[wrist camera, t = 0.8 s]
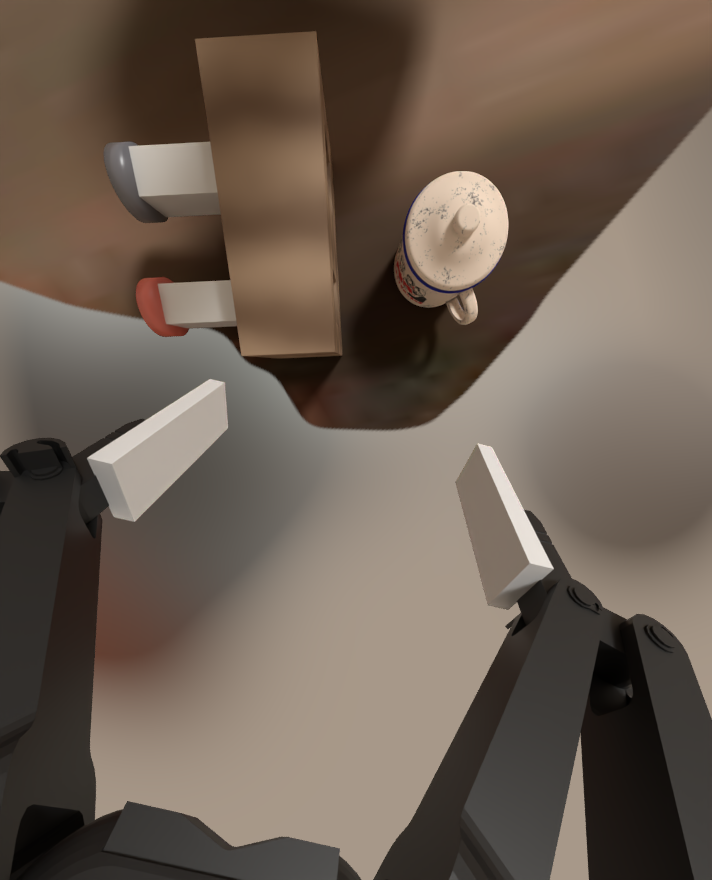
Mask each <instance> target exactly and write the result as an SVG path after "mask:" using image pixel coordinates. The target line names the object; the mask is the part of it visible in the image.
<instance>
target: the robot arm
mask: <svg viewBox="0 0 712 880" xmlns="http://www.w3.org/2000/svg"><path fill="white" fill-rule="evenodd" d="M227 429H228V418H227V403H226V389H225V382H221V381H217V380H213V379H209V380H208V381H206V382H204V383H203V384H201V385H200V386H198V387H197V388H195V389H194V390H192V391H190V392H189V393H187V394H186V395H184V396H183V397H181V398H180V399H178V400H176V401H175V402H173V403H172V404H170V405H169V406H167V407H166V408H164V409H163V410H161V411H159V412H158V413H156V414H155V415H153V416H152V417H150V418H148V419H147V420H144V419H140V420H137V421H134V422H131V423H128V424H126V425H124V426H122V427H121V428H119V429H117V430H116V431H115V432H113V433H111V434H109V435H107V436H106V437H105V439H104V438H103V439H101V440H99V441H98V442H96V443H94V444H93V445H91V446H90V447H88V448H86V449H85V450H83V451H81V452H80V453H78V454H76V455H75V456H73V457H71V454H70V452H69V450H68V448H67V446H66V444H65V442H63V441H61V440H59V439H54V438H38V439H32V440H27V441H24V442H21V443H18V444H15V445H13V446H11V447H9V448H8V449H6V450H4V451H3V453H2V454H1V455H0V457H1V459H2V460H3V461H4V463H5V464H6V466H7V467H8V469H9V470H10V471H0V880H361V879H360V877H359V876H358V874H357V873H356V872H355V871H354V870H353V869H352V867H351V866H350V865H349V864H348V863H347V862H346V861H345V860H344V859H342V858H341V857H340V856H339V852H340V849H339V848H335V847H330V846H326V845H321V844H316V843H312V842H308V841H303V840H299V839H294V838H290V837H278V838H274V839H269V840H265V841H261V842H257V843H252V844H248V845H244V846H239V847H233V846H231V845H229V844H228V843H227V842H226V841H224V840H223V839H222V838H221V837H220V836H218V835H217V834H216V833H215V832H213V831H212V830H211V829H210V828H208V826H206V825H205V824H204V823H203V822H201V821H200V820H199V819H198V818H196V817H192V816H189V815H185V814H182V813H178V812H174V811H169V810H164V809H160V808H156V807H151V806H147V805H142V804H138V803H133V802H129V801H127V803H126V805H125V807H124V809H123V810H119V811H115V812H113V813H110V814H107V815H104V816H102V817H100V818H98V819H96V820H95V801H96V778H95V771H94V766H93V762H92V759H91V754H90V729H91V711H92V693H93V676H94V658H95V639H96V622H97V604H98V586H99V568H100V551H101V532H102V518H101V515H100V513H101V512H102V511H103V510H104V509H106V508H107V507H108V506H109V508H110V510H111V512H112V515H113V517H116V518H120V519H124V520H128V521H133V522H135V521H136V520H137V519H138V518H139V517H140V516H141V515H142V514H143V513H144V512H145V511H146V510H147V509H148V508H149V507H150V506H151V505H152V504H153V503H154V502H155V501H156V500H157V499H158V498H159V497H160V496H161V495H162V494H163V493H164V492H165V491H166V490H167V489H168V488H169V487H170V486H171V485H172V484H173V483H174V482H175V481H176V480H177V479H178V478H179V477H180V476H181V475H182V474H183V473H184V472H185V471H186V470H187V469H188V468H189V467H190V466H191V465H192V464H193V463H194V462H195V461H196V460H197V459H198V458H199V457H200V456H201V455H202V454H203V453H204V452H205V451H206V450H207V449H208V448H209V447H210V446H211V445H212V444H213V443H214V442H215V441H216V440H217V439H218V438H219V437H220V436H221V435H222V434H223V432H225V431H226V430H227ZM456 486H457V490H458V494H459V498H460V502H461V505H462V509H463V513H464V517H465V520H466V524H467V528H468V532H469V536H470V539H471V543H472V547H473V551H474V554H475V558H476V562H477V566H478V569H479V573H480V577H481V581H482V585H483V588H484V592H485V596H486V600H487V604H488V605H489V606H494V607H498V608H503V609H507V610H508V609H510V608H511V607H512V606H513V605H514V604H515V603H516V602H518V605H519V608H520V611H521V613H520V614H519V615H518V616H517V617H515V618H514V619H513V620H512V621H511V622H510V623H508V624H507V625H506V628H507V629H509V628H510V627H511V628H510V630H509V632H508V634H507V636H506V638H505V640H504V642H503V644H502V646H501V648H500V649H499V651H498V654H497V655H496V657H495V659H494V661H493V663H492V665H491V667H490V669H489V671H488V673H487V675H486V677H485V679H484V681H483V683H482V684H481V686H480V689H479V690H478V692H477V694H476V696H475V698H474V700H473V702H472V704H471V706H470V708H469V710H468V712H467V714H466V716H465V718H464V720H463V722H462V723H461V725H460V727H459V729H458V731H457V733H456V735H455V737H454V739H453V741H452V743H451V745H450V747H449V749H448V751H447V753H446V755H445V757H444V759H443V760H442V762H441V764H440V766H439V768H438V770H437V772H436V774H435V776H434V778H433V780H432V782H431V784H430V786H429V788H428V790H427V791H426V794H425V795H424V797H423V799H422V801H421V803H420V805H419V807H418V809H417V811H416V813H415V815H414V816H413V818H412V820H411V822H410V823H409V825H408V826H407V827H406V828H405V830H404V831H403V832H402V833H401V834H400V835H399V837H398V838H397V839H396V841H395V842H394V843H393V845H392V846H391V848H390V850H389V852H388V854H387V855H386V857H385V859H384V860H383V862H382V864H381V866H380V868H379V870H378V872H377V874H376V876H375V878H374V879H373V880H550V875H551V870H552V865H553V861H554V856H555V851H556V846H557V842H558V837H559V832H560V827H561V823H562V818H563V813H564V808H565V804H566V799H567V794H568V789H569V784H570V780H571V775H572V770H573V766H574V760H575V756H576V751H577V746H578V742H579V737H580V732H581V746H582V747H581V748H582V766H583V783H584V798H585V799H584V801H585V817H586V836H587V853H588V870H589V880H712V719H711V717H710V713H709V711H708V708H707V705H706V703H705V700H704V697H703V695H702V692H701V689H700V686H699V684H698V681H697V678H696V676H695V673H694V670H693V668H692V665H691V662H690V660H689V657H688V654H687V653H686V651H685V649H684V647H683V645H682V644H681V643H680V642H679V640H678V639H677V638H676V637H675V636H674V634H673V633H671V632H670V631H669V630H668V629H667V628H666V627H664V626H663V625H662V624H660V623H659V622H658V621H656V620H655V619H653V618H651V617H649V616H646V615H643V614H636V615H634V616H633V617H631V618H629V619H628V620H627V619H625V618H623V617H621V616H619V615H617V614H615V613H613V612H611V611H609V610H607V609H605V608H603V607H602V604H601V602H600V601H599V600H598V598H597V597H596V596H595V595H594V593H593V592H592V591H590V590H589V589H588V588H587V587H586V586H585V585H583V584H581V583H579V582H578V581H576V580H574V579H572V578H571V576H570V574H569V573H568V571H567V569H566V567H565V565H564V563H563V562H562V560H561V558H560V556H559V554H558V553H557V551H556V549H555V547H554V545H552V542H551V540H550V538H549V536H548V535H547V533H546V531H545V529H544V527H543V525H542V523H541V522H540V521H539V520H538V519H537V518H536V516H535V515H534V514H533V513H532V512H531V511H527V510H524V509H523V508H522V506H521V503H520V501H519V500H518V498H517V496H516V494H515V492H514V490H513V488H512V486H511V484H510V482H509V480H508V478H507V476H506V474H505V472H504V470H503V468H502V466H501V464H500V462H499V460H498V458H497V456H496V454H495V452H494V450H493V448H492V447H490V446H486V445H481V444H477V445H476V447H475V448H474V450H473V452H472V454H471V456H470V457H469V459H468V461H467V463H466V465H465V467H464V468H463V470H462V472H461V473H460V475H459V477H458V479H457V481H456Z"/></svg>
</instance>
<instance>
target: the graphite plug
mask: <svg viewBox="0 0 712 880" xmlns="http://www.w3.org/2000/svg"><path fill="white" fill-rule="evenodd" d="M104 162H105V166H106V170H107V173H108V176H109V179H110V181H111V184H112V186H113V188H114V190H115V192H116V194H117V195H118V197H119V199H120V200H121V202H122V203H123V205H124V206H125V207H126V209H127V210H128V211H129V212H130V213H131V214H132V215H133V216H134V217H135V218H136V219H138V220H139V221H141V222H143V223H157V222H165V221H167V219H168V217H181V216H200V215H219V214H221V213H220V206H219V199H218V192H217V186H216V179H215V172H214V165H213V158H212V152H211V145H210V142H195V143H178V144H160V145H142V146H138V145H137V144H136V143H134V142H115V143H108V144H107V145H106V146H105V148H104Z"/></svg>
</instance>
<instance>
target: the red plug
mask: <svg viewBox="0 0 712 880" xmlns="http://www.w3.org/2000/svg"><path fill="white" fill-rule="evenodd" d="M136 299H137V304H138V308H139V310H140V313H141V315H142V317H143V319H144V321H145V322H146V324H147V325H148V326H149V327H150V328H151V329H152V330H153V331H154V332H155V333H156V334H158V335H160V336H163V337H169V336H170V337H171V336H184V335H185V334H186V333H187V332H188V330H189V328H209V327H230V326H237V322H236V315H235V308H234V301H233V295H232V288H231V281H230V280H224V281H203V282H183V283H174V282H173V281H171V280H170V279H168V278H166V277H156V278H143V279H141V280H140V281H139V282H138V285H137V288H136Z"/></svg>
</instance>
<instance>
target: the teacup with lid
mask: <svg viewBox="0 0 712 880" xmlns="http://www.w3.org/2000/svg"><path fill="white" fill-rule="evenodd" d="M507 236H508V214H507V209H506V206H505V203H504V200H503V198H502V196H501V194H500V192H499V191H498V189H497V188H496V187H495V186H494V185H493V184H492V183H491V182H490V181H489V180H488V179H486V178H485V177H483V176H481V175H479V174H476V173H473V172H468V171H456V172H451V173H447V174H445V175H442V176H440V177H438V178H437V179H435V180H434V181H432V182H431V183H429V184H428V185H427V186H426V187H425V188H424V189H423V190H422V191H421V192H420V193H419V194H418V195H417V197H416V198H415V200H414V201H413V203H412V205H411V207H410V209H409V211H408V214H407V216H406V220H405V224H404V229H403V236H402V239H401V242H400V245H399V247H398V250H397V253H396V256H395V261H394V275H395V280H396V284H397V286H398V288H399V290H400V292H401V293H402V295H403V296H404V297H405V298H406V299H407V300H408V301H410V302H411V303H413V304H415V305H417V306H420V307H427V308H430V307H437V306H440V305H443V304H445V303H446V304H447V307H448V309H449V311H450V313H451V315H452V317H453V318H454V319H455V320H456V321H457V322H458V323H460V324H462V325H467V324H469V323H471V322H473V321H474V320H475V319H476V317H477V313H478V307H477V301H476V297H475V294H474V292H473V289H472V288H473V287H475V286H476V285H478V284H479V283H481V282H482V281H483V280H484V279H485V278H486V277H487V276H488V275H489V274H490V273H491V272H492V271H493V269H494V268H495V266H496V265H497V263H498V261H499V260H500V258H501V255H502V253H503V250H504V248H505V244H506V241H507ZM458 294H459V295H460V297H461V300H462V303H463V306H464V310H465V312H464V311H463V309H462V308H461V306H460V304H459V301H458V299H457V295H458Z"/></svg>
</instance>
